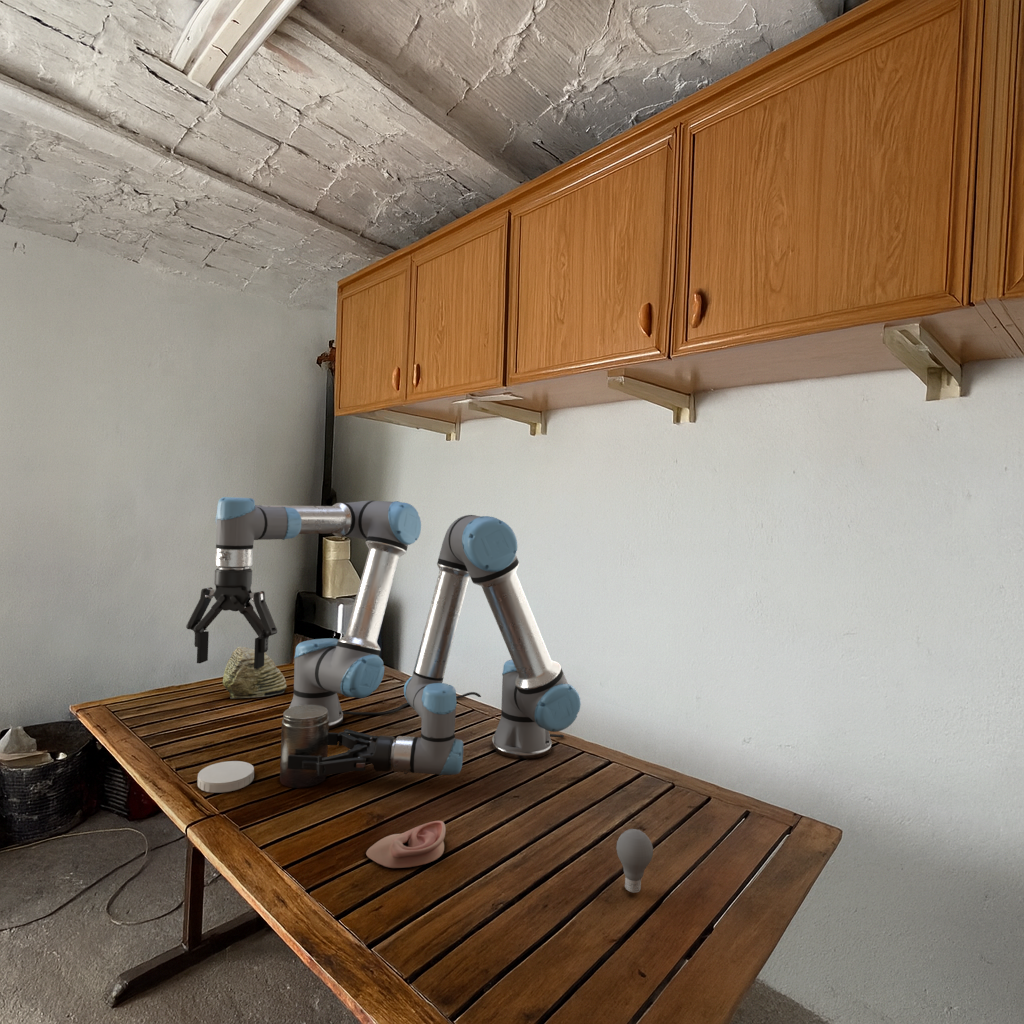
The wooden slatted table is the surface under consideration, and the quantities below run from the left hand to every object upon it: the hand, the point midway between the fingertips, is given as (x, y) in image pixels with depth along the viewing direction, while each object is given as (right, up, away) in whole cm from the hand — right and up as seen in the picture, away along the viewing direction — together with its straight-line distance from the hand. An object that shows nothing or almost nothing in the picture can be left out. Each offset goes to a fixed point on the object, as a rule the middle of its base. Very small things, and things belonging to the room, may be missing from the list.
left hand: (230, 664), depth 139 cm
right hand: (+14, -20, +4) cm, 24 cm away
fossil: (-19, -24, +59) cm, 67 cm away
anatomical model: (+43, -28, -24) cm, 56 cm away
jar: (+15, -26, +4) cm, 30 cm away
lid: (-1, -24, 0) cm, 24 cm away
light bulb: (+82, -30, -33) cm, 93 cm away
